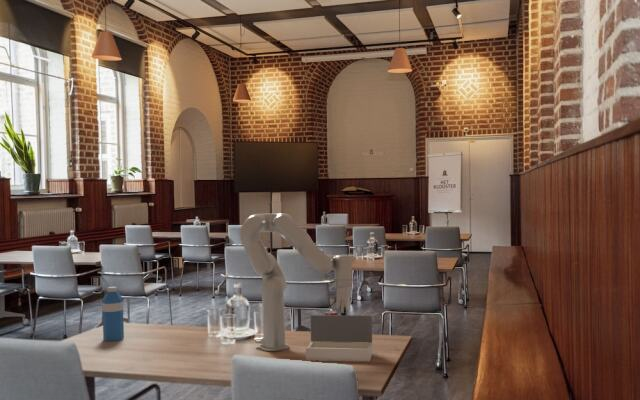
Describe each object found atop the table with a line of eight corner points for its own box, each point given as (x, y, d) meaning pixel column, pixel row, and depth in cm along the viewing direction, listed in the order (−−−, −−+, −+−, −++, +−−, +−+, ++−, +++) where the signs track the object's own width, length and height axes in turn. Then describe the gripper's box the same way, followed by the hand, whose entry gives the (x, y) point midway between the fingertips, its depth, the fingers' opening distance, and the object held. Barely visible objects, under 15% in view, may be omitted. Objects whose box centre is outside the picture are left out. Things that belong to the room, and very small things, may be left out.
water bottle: (103, 337, 305) (102, 286, 304) (123, 336, 308) (122, 285, 307) (103, 342, 296) (101, 289, 296) (123, 340, 299) (122, 288, 298)
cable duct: (306, 360, 256) (306, 348, 256) (311, 353, 267) (311, 341, 267) (369, 361, 252) (369, 349, 252) (372, 354, 263) (372, 342, 263)
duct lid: (310, 315, 267) (311, 315, 268) (311, 341, 267) (311, 340, 268) (371, 316, 263) (371, 315, 264) (372, 342, 263) (372, 342, 264)
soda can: (337, 339, 291) (336, 313, 291) (322, 338, 293) (321, 313, 293) (339, 335, 298) (339, 310, 298) (325, 335, 300) (324, 310, 300)
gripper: (337, 280, 283) (338, 321, 283) (332, 285, 268) (333, 328, 268) (354, 280, 282) (354, 321, 282) (349, 285, 267) (350, 328, 267)
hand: (344, 324), depth 275 cm, fingers closed
